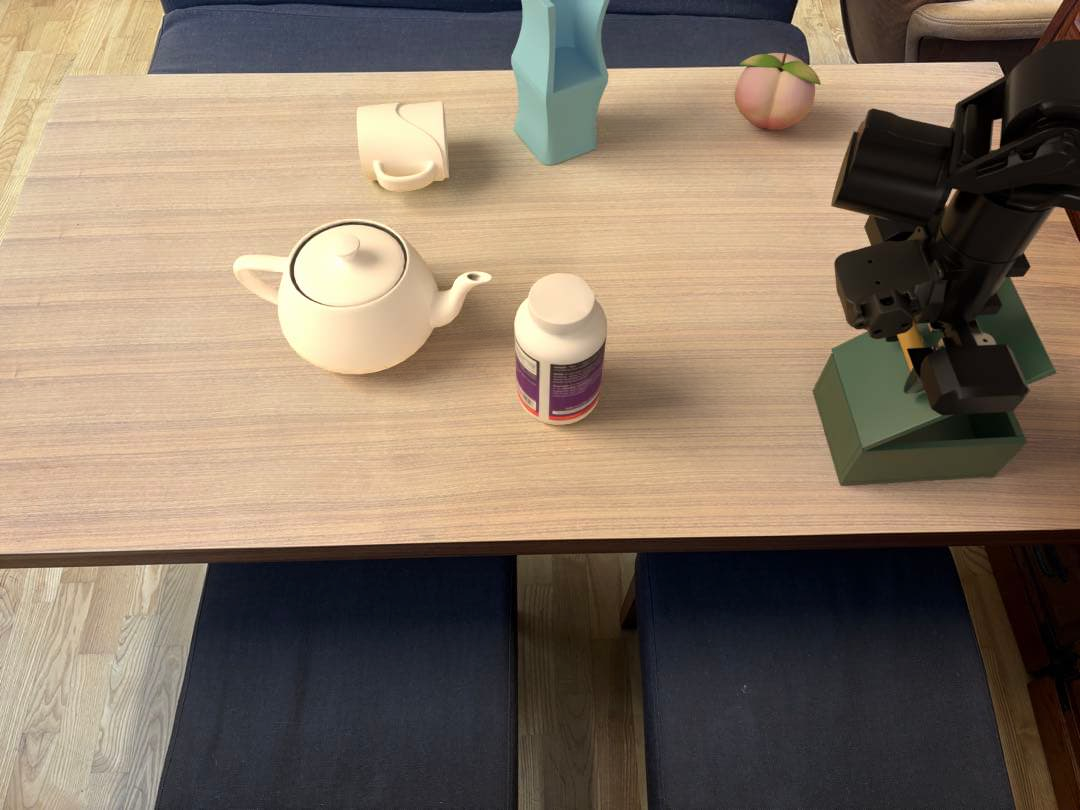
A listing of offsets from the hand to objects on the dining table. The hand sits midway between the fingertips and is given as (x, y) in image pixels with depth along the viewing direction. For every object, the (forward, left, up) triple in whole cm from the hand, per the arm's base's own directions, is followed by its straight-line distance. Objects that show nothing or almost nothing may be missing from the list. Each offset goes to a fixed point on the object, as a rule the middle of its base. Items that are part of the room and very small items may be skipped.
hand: (900, 365), depth 70 cm
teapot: (+48, 0, -11) cm, 50 cm away
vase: (+37, -33, -11) cm, 51 cm away
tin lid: (-3, -1, 0) cm, 3 cm away
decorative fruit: (+13, -42, -11) cm, 46 cm away
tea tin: (-4, -1, -11) cm, 12 cm away
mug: (+52, -22, -11) cm, 58 cm away
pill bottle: (+28, +3, -11) cm, 31 cm away
